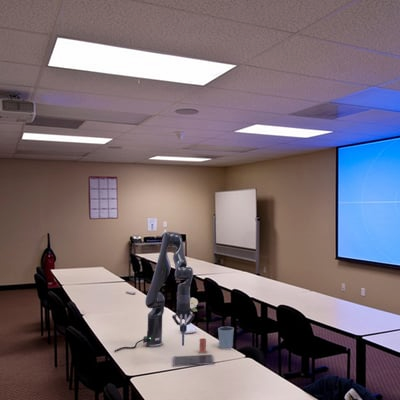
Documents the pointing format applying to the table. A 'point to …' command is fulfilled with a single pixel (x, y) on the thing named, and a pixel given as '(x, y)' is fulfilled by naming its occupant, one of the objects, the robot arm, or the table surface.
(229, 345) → the blue-grey tapered bin
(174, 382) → the table surface
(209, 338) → the table surface
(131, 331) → the table surface
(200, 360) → the tablet
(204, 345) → the pen pot
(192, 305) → the flower in vase
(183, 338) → the stylus
